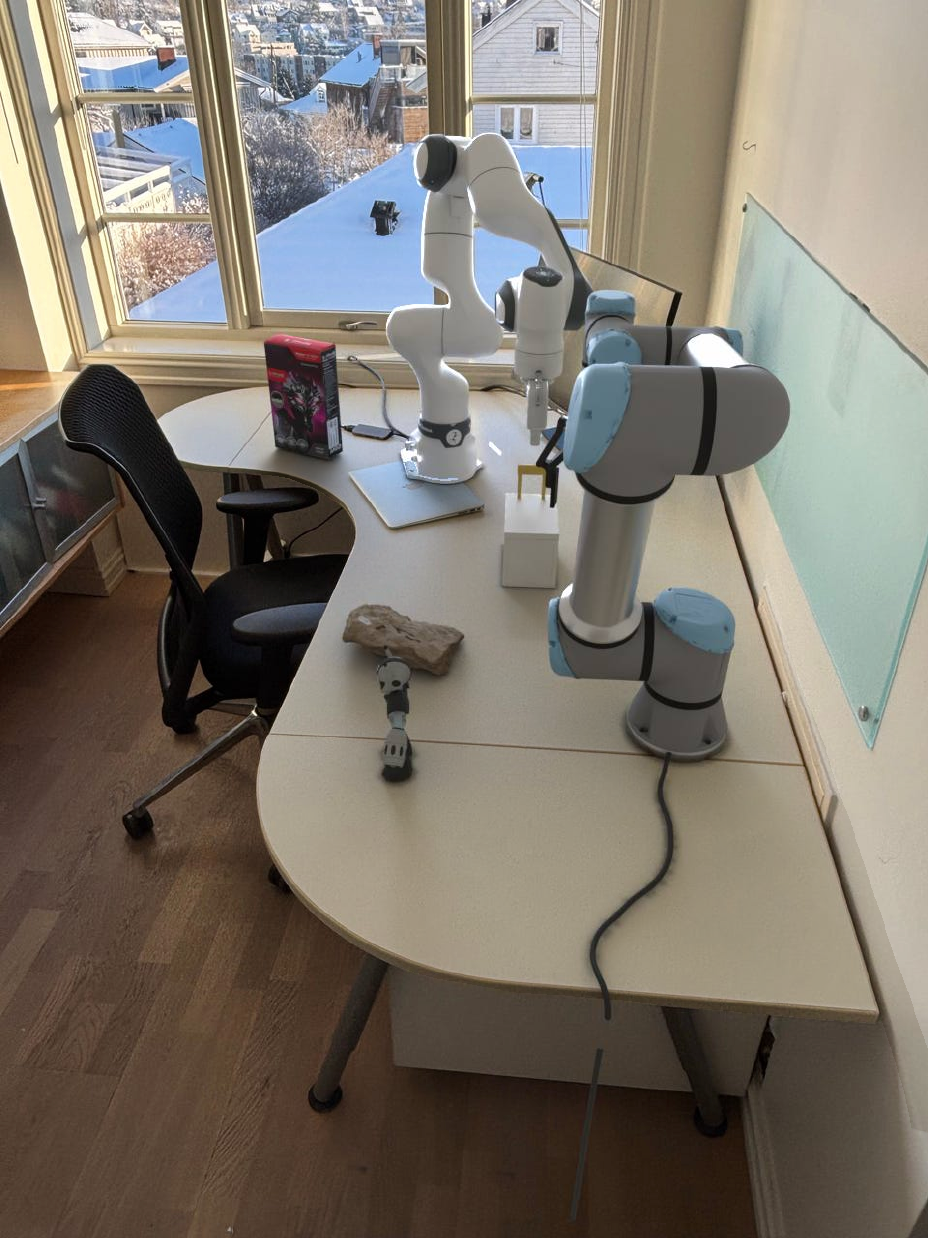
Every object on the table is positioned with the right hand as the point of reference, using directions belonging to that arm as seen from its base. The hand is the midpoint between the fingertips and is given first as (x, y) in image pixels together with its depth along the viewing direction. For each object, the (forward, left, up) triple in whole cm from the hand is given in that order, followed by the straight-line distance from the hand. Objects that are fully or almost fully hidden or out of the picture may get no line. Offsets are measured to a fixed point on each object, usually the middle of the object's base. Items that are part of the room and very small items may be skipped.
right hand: (591, 509), depth 161 cm
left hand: (+18, +14, +5) cm, 24 cm away
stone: (-23, +29, -20) cm, 42 cm away
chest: (+12, +13, -20) cm, 27 cm away
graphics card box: (+52, +78, -20) cm, 96 cm away
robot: (-50, +20, -20) cm, 57 cm away
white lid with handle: (+12, +13, -10) cm, 20 cm away
